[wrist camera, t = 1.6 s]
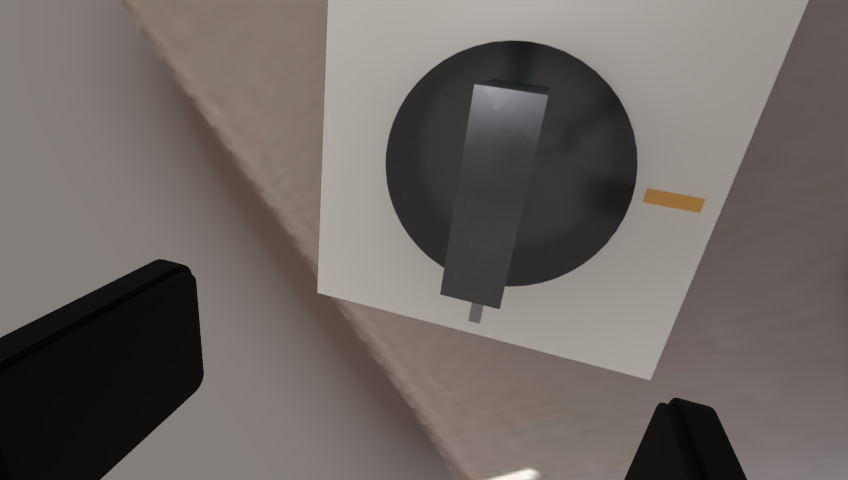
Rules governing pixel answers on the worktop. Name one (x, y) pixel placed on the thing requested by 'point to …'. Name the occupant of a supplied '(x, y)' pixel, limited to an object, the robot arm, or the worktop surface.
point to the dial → (510, 167)
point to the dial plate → (654, 135)
